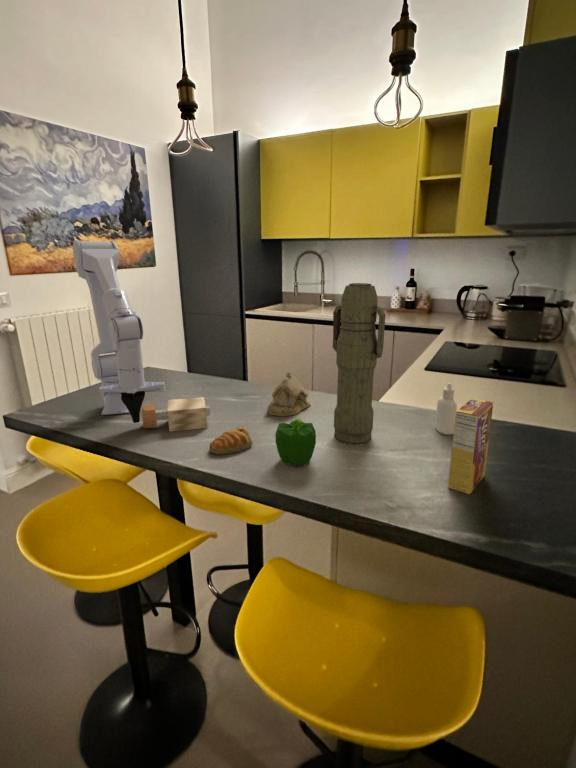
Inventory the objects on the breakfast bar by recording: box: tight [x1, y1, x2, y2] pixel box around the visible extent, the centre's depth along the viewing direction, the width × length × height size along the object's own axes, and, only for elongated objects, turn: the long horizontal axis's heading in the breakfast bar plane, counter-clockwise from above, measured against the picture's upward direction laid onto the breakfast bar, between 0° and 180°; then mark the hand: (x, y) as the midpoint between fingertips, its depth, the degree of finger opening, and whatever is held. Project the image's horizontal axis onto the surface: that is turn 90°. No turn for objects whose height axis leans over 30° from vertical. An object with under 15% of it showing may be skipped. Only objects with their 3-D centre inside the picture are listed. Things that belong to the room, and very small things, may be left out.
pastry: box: [208, 427, 254, 456], centre depth 94 cm, size 9×7×4 cm
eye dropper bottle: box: [434, 382, 458, 436], centre depth 101 cm, size 4×6×12 cm
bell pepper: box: [275, 417, 317, 467], centre depth 87 cm, size 8×8×10 cm
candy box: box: [447, 398, 494, 495], centre depth 78 cm, size 9×4×15 cm, turn 140°
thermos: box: [332, 282, 386, 446], centre depth 94 cm, size 9×12×35 cm
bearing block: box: [167, 396, 208, 432], centre depth 107 cm, size 9×8×5 cm
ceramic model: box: [266, 372, 312, 417], centre depth 117 cm, size 14×11×10 cm
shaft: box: [141, 403, 211, 429], centre depth 106 cm, size 16×4×4 cm, turn 104°
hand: (136, 421), depth 104 cm, fingers closed
